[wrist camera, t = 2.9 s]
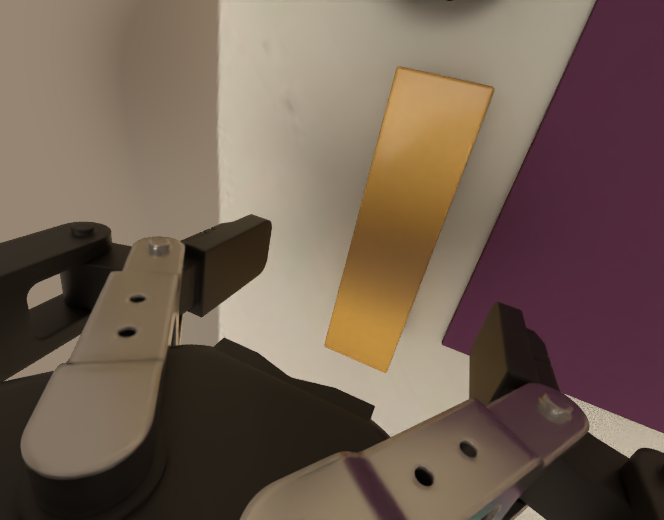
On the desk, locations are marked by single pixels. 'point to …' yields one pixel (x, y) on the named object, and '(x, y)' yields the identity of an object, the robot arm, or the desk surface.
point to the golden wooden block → (404, 209)
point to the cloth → (590, 222)
